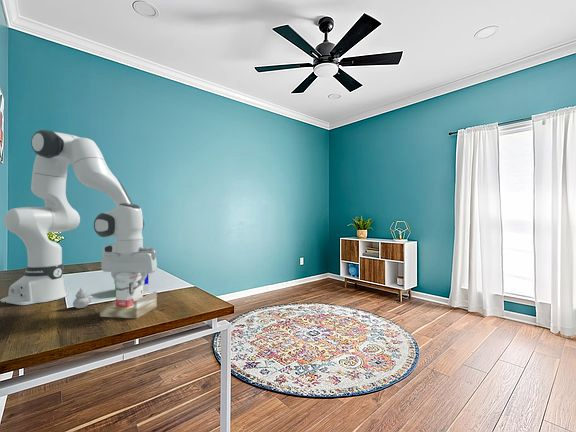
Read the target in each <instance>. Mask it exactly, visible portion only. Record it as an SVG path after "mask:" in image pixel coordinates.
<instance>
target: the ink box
mask: <svg viewBox="0 0 576 432" xmlns="http://www.w3.org/2000/svg"><path fill="white" fill-rule="evenodd" d="M141 277H142V276H141V273H127V272H121V273H118V274H117V281H116V292H115V301H116V306H118V307H129V306H131V305H133V304H134V301H135V300H138V299H140V298H142V297H144V292H143V285H138V280H140V279H141Z"/></svg>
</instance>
